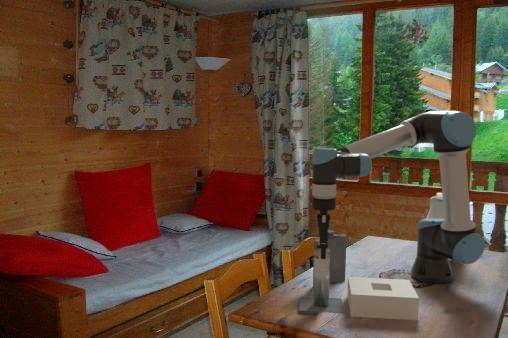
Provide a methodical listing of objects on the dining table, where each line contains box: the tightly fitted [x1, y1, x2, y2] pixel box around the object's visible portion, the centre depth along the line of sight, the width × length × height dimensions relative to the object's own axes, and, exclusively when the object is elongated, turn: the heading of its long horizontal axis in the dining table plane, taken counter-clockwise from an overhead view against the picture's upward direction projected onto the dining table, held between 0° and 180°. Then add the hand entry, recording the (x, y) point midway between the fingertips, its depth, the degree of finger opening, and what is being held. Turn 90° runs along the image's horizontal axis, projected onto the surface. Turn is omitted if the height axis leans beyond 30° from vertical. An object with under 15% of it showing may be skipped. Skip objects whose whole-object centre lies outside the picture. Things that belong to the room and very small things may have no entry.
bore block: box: [346, 276, 420, 321], centre depth 154 cm, size 20×16×8 cm
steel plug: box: [313, 248, 330, 307], centre depth 156 cm, size 5×5×18 cm
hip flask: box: [312, 229, 347, 289], centre depth 178 cm, size 16×4×20 cm, turn 128°
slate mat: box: [298, 295, 345, 316], centre depth 157 cm, size 14×12×1 cm
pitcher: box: [425, 192, 453, 262], centre depth 214 cm, size 24×17×28 cm
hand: (322, 261), depth 155 cm, fingers open, 13 cm apart
